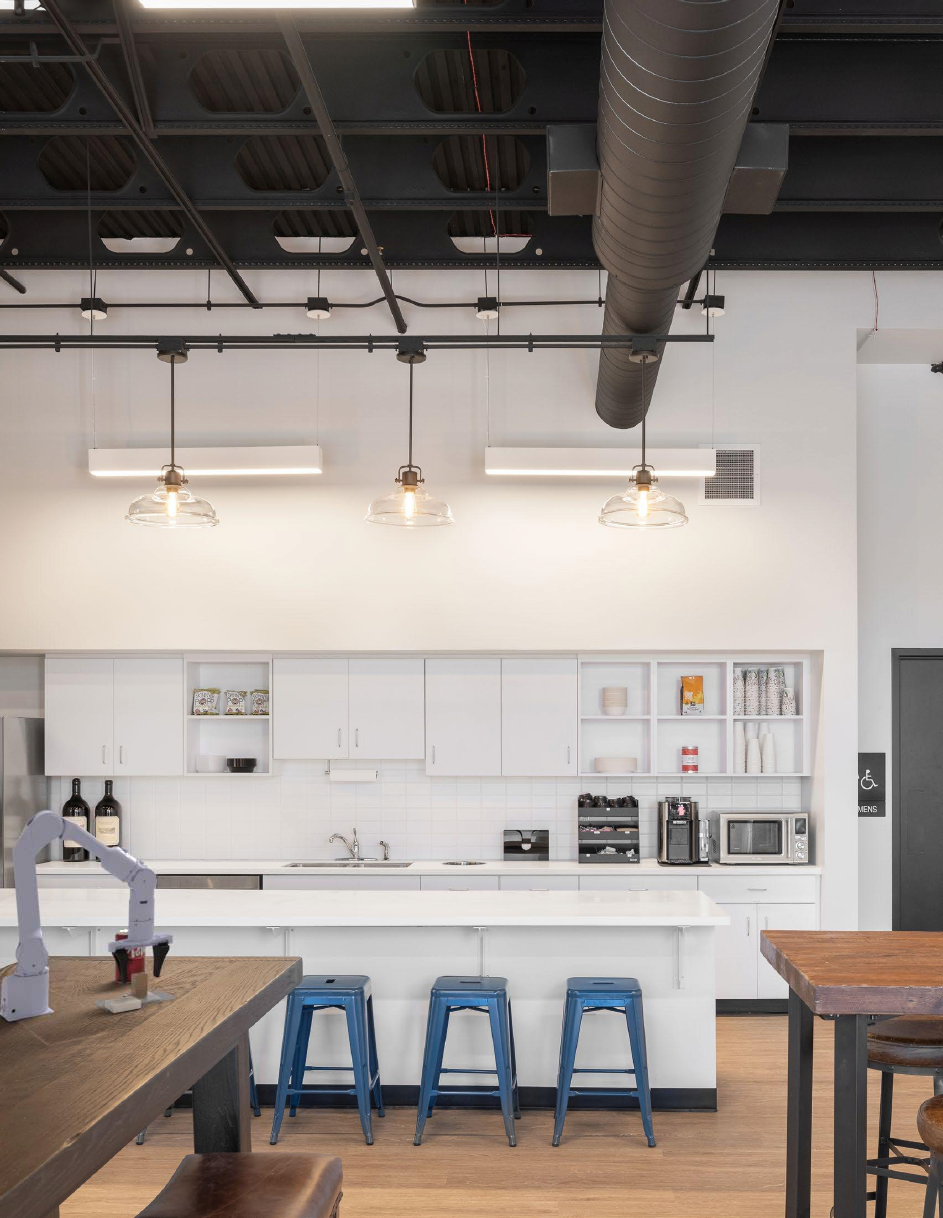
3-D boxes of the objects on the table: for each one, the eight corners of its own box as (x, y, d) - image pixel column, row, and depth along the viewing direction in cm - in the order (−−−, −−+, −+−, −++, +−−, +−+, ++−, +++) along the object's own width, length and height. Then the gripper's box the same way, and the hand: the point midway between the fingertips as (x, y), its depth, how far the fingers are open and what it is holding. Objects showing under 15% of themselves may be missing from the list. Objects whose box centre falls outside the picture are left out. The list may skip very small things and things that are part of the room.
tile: (104, 1008, 227) (113, 1013, 222) (104, 1000, 227) (113, 1005, 222) (131, 1003, 231) (141, 1008, 226) (131, 995, 231) (141, 1000, 226)
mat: (106, 1013, 224) (106, 1011, 224) (92, 1004, 232) (92, 1002, 232) (177, 999, 234) (177, 998, 234) (160, 991, 242) (160, 989, 242)
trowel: (124, 995, 237) (124, 973, 238) (145, 991, 240) (145, 969, 241) (139, 1004, 230) (139, 981, 230) (160, 1000, 233) (161, 977, 233)
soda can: (150, 977, 256) (150, 928, 257) (137, 985, 249) (138, 934, 250) (122, 977, 257) (123, 928, 258) (109, 985, 249) (110, 934, 251)
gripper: (116, 925, 230) (114, 988, 229) (178, 917, 239) (177, 977, 237) (105, 921, 236) (104, 982, 234) (166, 913, 245) (165, 972, 243)
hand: (140, 979), depth 236 cm, fingers open, 7 cm apart
